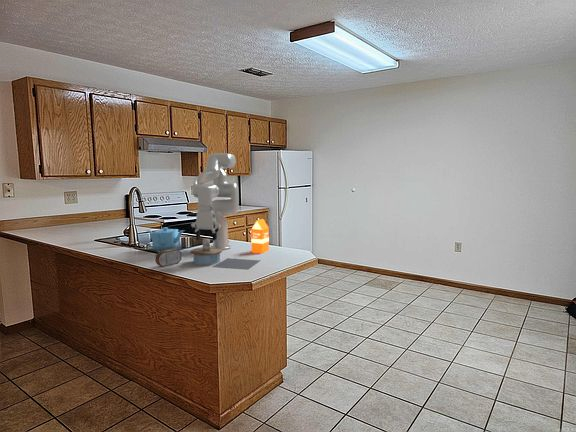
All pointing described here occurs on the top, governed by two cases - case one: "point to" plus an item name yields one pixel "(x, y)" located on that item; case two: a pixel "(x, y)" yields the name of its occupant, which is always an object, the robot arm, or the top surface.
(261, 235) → the orange juice
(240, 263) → the mat
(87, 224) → the top surface
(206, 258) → the bowl
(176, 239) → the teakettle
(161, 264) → the tin
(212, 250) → the lid
